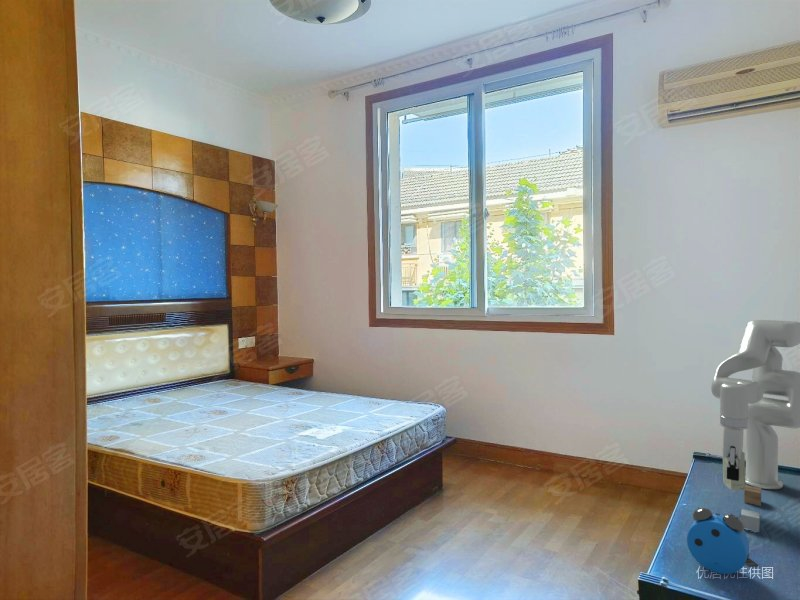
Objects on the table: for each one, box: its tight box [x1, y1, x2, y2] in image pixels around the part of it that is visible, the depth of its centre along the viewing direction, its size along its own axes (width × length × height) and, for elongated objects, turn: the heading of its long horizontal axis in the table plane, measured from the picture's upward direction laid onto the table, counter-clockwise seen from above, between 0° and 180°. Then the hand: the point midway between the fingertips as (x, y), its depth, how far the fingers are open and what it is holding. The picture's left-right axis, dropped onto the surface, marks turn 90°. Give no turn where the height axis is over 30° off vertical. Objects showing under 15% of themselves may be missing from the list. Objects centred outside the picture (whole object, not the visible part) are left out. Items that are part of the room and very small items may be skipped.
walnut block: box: [743, 484, 762, 507], centre depth 170 cm, size 4×4×4 cm
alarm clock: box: [686, 507, 750, 575], centre depth 131 cm, size 13×6×15 cm, turn 49°
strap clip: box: [744, 553, 759, 568], centre depth 136 cm, size 8×3×4 cm, turn 179°
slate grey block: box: [740, 508, 761, 533], centre depth 152 cm, size 4×4×4 cm
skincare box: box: [721, 446, 746, 492], centre depth 164 cm, size 6×4×12 cm
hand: (733, 475), depth 164 cm, fingers closed on skincare box, 7 cm apart
